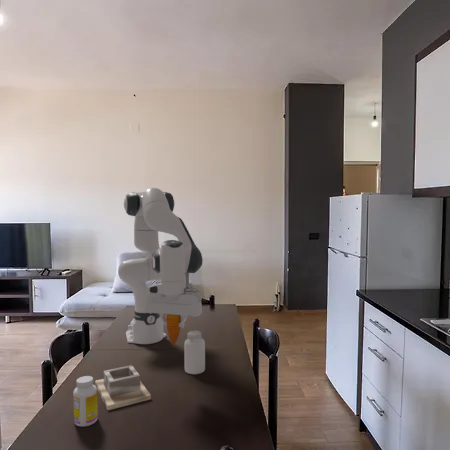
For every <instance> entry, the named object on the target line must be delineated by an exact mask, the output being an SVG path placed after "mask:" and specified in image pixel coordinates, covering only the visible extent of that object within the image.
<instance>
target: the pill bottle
mask: <svg viewBox="0 0 450 450" xmlns="http://www.w3.org/2000/svg"><path fill="white" fill-rule="evenodd" d="M183 344H184V345H183V346H184V348H183V349H184V353H183V354H184V356H183V357H184V372H185V373H187V374H190V375H199V374H202V373H205V370H206V342H205V339H204V338H202V332H201V331H200V330H189V331H187V339H185V340H184V343H183Z"/></svg>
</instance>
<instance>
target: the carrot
mask: <svg viewBox="0 0 450 450" xmlns="http://www.w3.org/2000/svg"><path fill="white" fill-rule="evenodd" d="M172 306H173V305H172ZM165 317H166V320H167V326H166V329H167V335H168V338H169V340H170V343H171V344H172V345H174V346H175V344H176V343H177V341H178V339H179V336H180V332H181V328H179V322H180V321H182V315H172V314H166V315H165Z"/></svg>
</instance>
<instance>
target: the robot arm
mask: <svg viewBox="0 0 450 450" xmlns="http://www.w3.org/2000/svg"><path fill="white" fill-rule="evenodd" d="M123 208H124V210H125V213H126V214H127V215H128V216H131V217H134V223H133V225H134V226H133V227H134V228H133V234H134V235H133V236H134V237H133V243H134V247H135V248H136V249H138V250H139V251H141V252H144V253H146V257H143V258H141V257H140V258H131V259H126V260H124V261H121V263H120V264H119V266H118V267H117V268H118V269H117V271H118V272H117V274H118V277H119V279H120V280H121V281H122V282H123V283H125V284H126V285H128V287H129V288H130V289H131V291H132V294H133V297H134V311H133V318H132V320H131V321H130V324H128V325H127V330H126V332H125V336H126V340H127V341H126V342H127V343H128V344H137V345H151V344H155V343H158V342H161V341H162V340H163V339H164V338H167V333H165V332H164V327H167V320H166V316H167V314H172V315H181V321H180V322H179V328H180V329H183V328H184V327H185V322H186V320H187V319H188V317H199V316H200V315H201V314H202V313H203V305H202V298H203V296H202V295H203V294H202V292H201V291H200V290H199V289H197V288H187V277H186V274H195V273H196V272H198V271H199V269H201V267H202V265H203V255H202V252H201V250H200V249H199V248H198V246H197V244H195V241H194V240H193V238H192V235H191V234H190V232H189V230H188V228H187V226H186V224H185V222H184V221H183V220H182V218H181V217H180V216H178V215H176V214H175V213H174V210H175V199H174V196H173V194H172V193H170V192H166V191H163V190H162V189H160V188H157V187H150V188H148V189H146V190H145V191H139V192H136V191H133V192H129V193H127V194H126V195H125V198H124V201H123ZM159 232H161V233H165V234H169V235H172V236H173V237H175V238H177V240H176V239H168V240H164V241H163V242H162V243H161V247H160V243H159V242H160V241H159ZM152 281H153V282H155V281H159V282H155V283H153V284H151V285H149V286H147V282H152ZM172 305H173V306H172Z"/></svg>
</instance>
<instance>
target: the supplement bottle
mask: <svg viewBox="0 0 450 450" xmlns="http://www.w3.org/2000/svg"><path fill="white" fill-rule="evenodd" d="M75 382H76V384H75V385H76V387H75V388H74V389H73V392H72V394H73V395H72V398H73V422H74V424H75V426H77V427H89V426H91V425H93V424H95V423H96V422H97V420H98V418H99V413H98V389H97V387H96V385H95V384H94V377H93V376H91V375H85V376H80V377H78V378H77V379H76V381H75Z"/></svg>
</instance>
